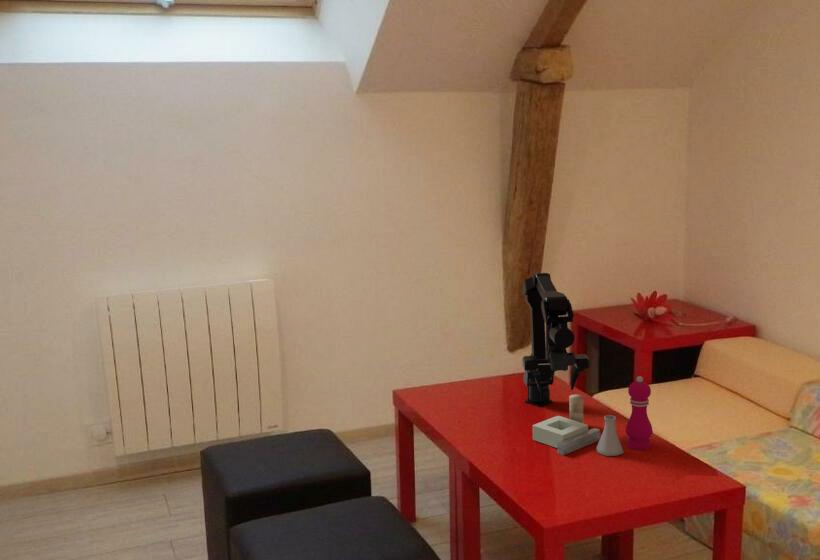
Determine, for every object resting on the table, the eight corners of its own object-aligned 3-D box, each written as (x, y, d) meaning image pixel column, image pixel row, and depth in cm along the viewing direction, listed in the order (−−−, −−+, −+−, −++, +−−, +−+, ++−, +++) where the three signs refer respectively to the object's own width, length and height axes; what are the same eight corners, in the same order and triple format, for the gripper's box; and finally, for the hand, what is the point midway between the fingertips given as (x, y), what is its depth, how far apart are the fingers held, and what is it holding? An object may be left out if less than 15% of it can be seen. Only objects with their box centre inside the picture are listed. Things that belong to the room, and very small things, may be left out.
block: (532, 439, 253) (532, 425, 252) (558, 429, 260) (557, 415, 259) (562, 450, 244) (562, 435, 243) (588, 439, 251) (588, 424, 250)
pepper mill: (653, 451, 242) (654, 380, 238) (625, 450, 243) (626, 380, 239) (651, 441, 249) (652, 372, 245) (624, 440, 250) (625, 372, 246)
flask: (591, 449, 245) (591, 414, 243) (614, 445, 247) (615, 411, 245) (604, 458, 238) (604, 423, 236) (628, 454, 240) (628, 419, 238)
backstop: (557, 453, 243) (557, 443, 242) (594, 437, 253) (594, 427, 252) (563, 455, 241) (563, 445, 240) (600, 439, 251) (600, 429, 251)
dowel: (566, 425, 263) (566, 396, 261) (575, 422, 265) (575, 393, 264) (577, 429, 260) (577, 399, 258) (586, 425, 262) (586, 396, 260)
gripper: (526, 347, 247) (527, 400, 251) (593, 345, 247) (593, 398, 250) (522, 337, 258) (522, 388, 261) (586, 334, 258) (585, 386, 261)
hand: (555, 390), depth 258 cm, fingers open, 9 cm apart
